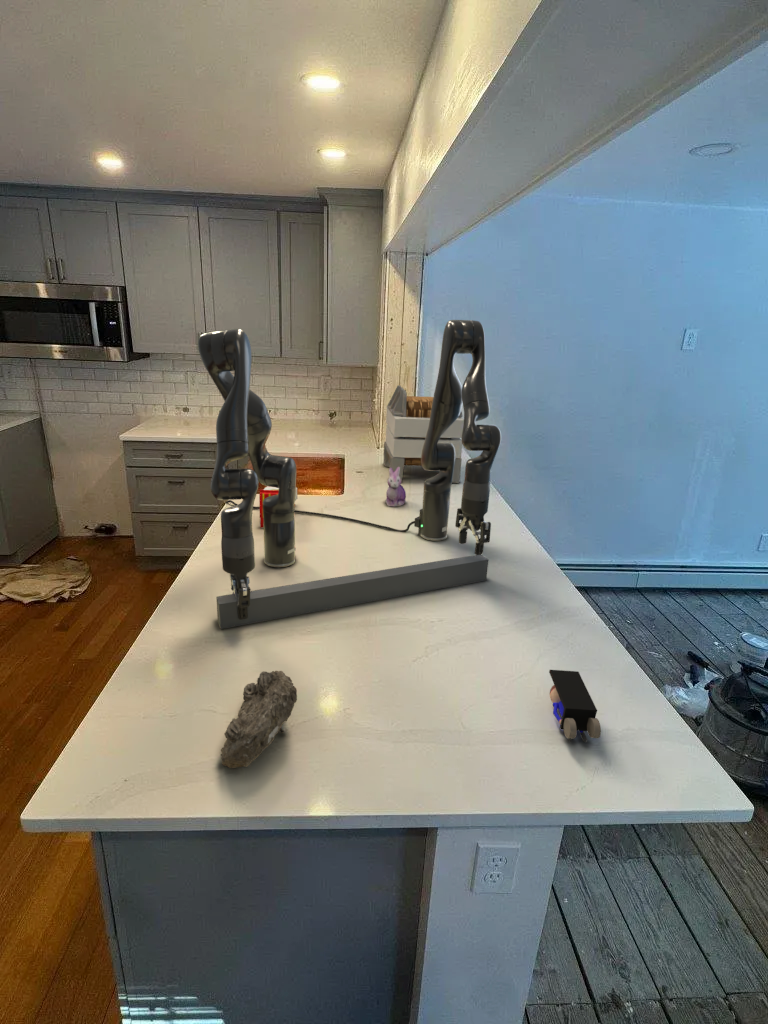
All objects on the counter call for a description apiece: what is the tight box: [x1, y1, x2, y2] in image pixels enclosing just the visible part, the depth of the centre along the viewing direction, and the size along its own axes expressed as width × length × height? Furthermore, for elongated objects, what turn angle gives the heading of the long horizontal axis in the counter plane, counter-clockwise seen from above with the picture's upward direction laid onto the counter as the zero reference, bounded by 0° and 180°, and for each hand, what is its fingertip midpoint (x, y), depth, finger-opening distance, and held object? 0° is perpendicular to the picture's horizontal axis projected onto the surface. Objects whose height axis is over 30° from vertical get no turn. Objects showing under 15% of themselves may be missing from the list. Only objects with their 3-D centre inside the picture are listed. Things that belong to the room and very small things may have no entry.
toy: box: [258, 486, 298, 529], centre depth 211 cm, size 12×13×30 cm
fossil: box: [220, 670, 298, 769], centre depth 104 cm, size 22×10×15 cm
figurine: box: [385, 467, 407, 507], centre depth 228 cm, size 9×10×15 cm
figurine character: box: [548, 669, 602, 743], centre depth 110 cm, size 7×8×15 cm
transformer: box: [383, 384, 464, 484], centre depth 268 cm, size 34×33×41 cm
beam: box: [215, 554, 490, 630], centre depth 153 cm, size 77×4×7 cm, turn 115°
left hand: (241, 613), depth 140 cm, fingers closed on beam, 4 cm apart
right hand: (470, 548), depth 164 cm, fingers open, 8 cm apart
